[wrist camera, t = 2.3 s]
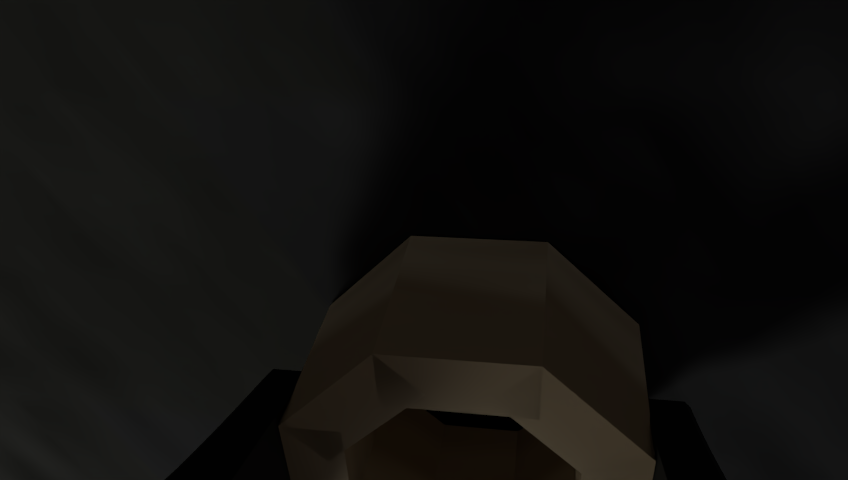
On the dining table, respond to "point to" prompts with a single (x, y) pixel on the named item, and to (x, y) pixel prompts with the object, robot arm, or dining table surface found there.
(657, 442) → the robot arm
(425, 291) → the ring
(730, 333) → the dining table surface
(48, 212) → the dining table surface
